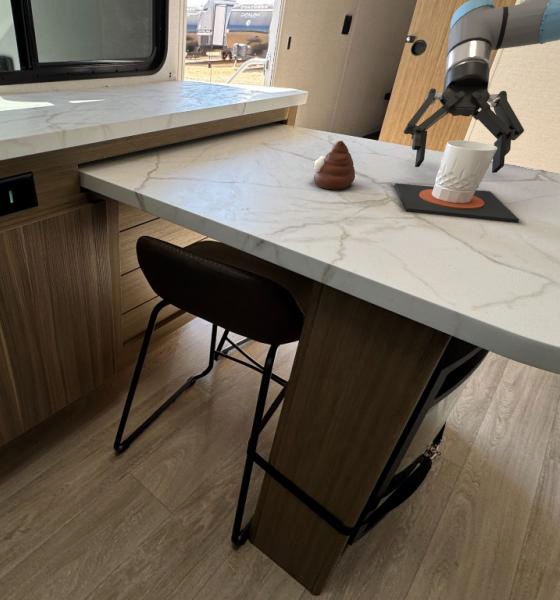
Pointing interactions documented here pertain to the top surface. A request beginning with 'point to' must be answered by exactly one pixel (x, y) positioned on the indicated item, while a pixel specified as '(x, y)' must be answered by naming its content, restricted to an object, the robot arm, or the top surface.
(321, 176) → the poop emoji
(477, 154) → the white cup
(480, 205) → the placemat
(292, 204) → the top surface
